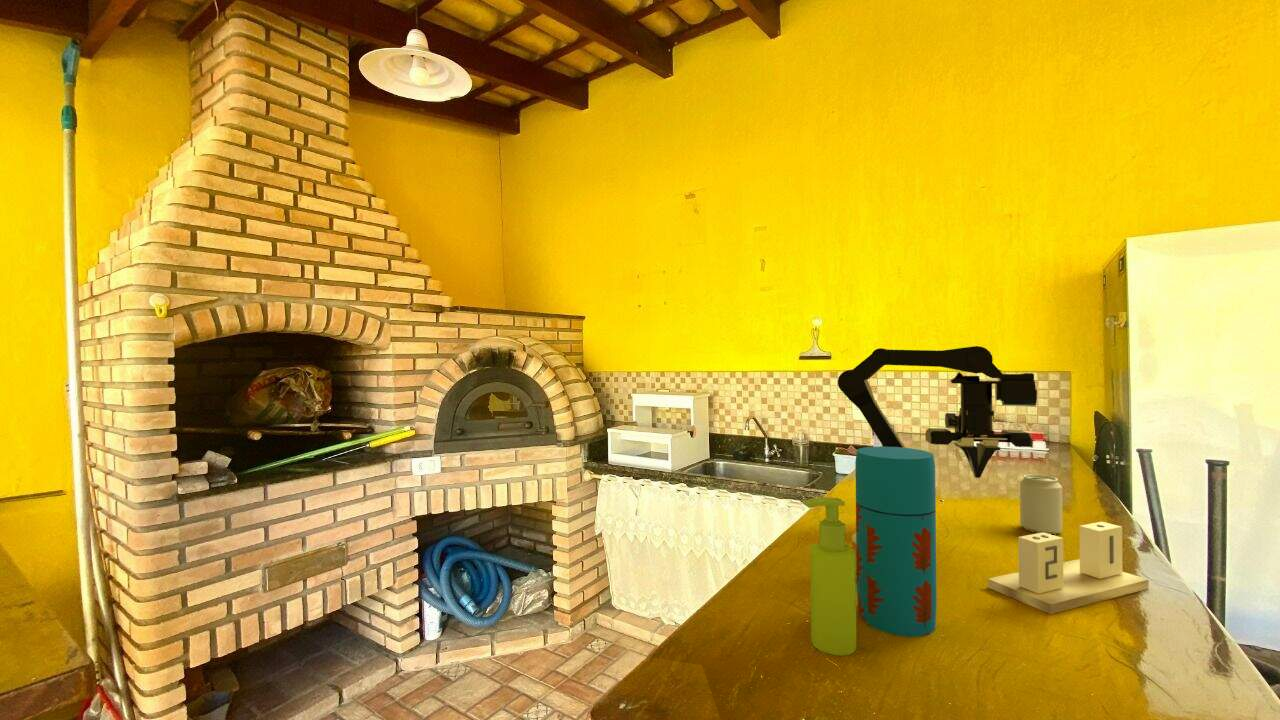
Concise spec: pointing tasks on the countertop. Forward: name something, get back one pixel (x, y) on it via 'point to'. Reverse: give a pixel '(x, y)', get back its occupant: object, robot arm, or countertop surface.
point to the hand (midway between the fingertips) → (977, 477)
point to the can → (1041, 504)
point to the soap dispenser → (832, 583)
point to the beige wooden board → (1070, 589)
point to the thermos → (896, 539)
